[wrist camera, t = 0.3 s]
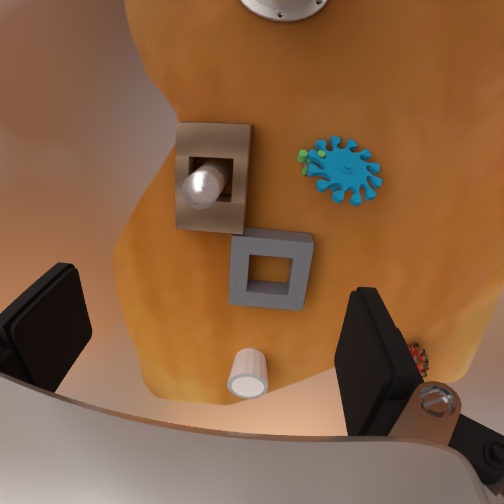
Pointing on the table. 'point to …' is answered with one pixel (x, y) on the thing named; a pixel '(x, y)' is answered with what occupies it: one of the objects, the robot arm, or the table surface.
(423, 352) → the dragon fruit
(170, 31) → the table surface
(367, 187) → the gear
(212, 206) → the brown rectangular frame
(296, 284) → the socket block
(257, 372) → the white fluted cup
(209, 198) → the axle
